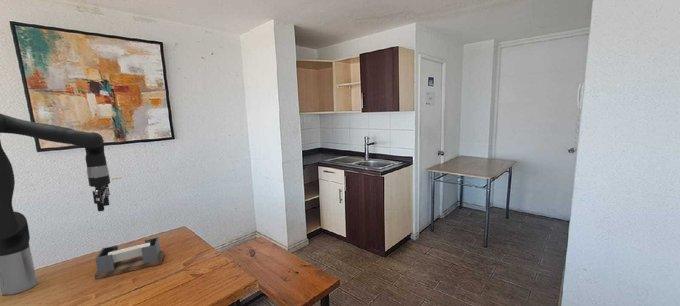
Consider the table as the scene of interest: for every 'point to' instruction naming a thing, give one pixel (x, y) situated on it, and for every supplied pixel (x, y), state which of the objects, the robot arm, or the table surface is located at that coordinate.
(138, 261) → the plank
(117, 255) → the block
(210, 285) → the table surface
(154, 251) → the grey boxes
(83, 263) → the table surface
